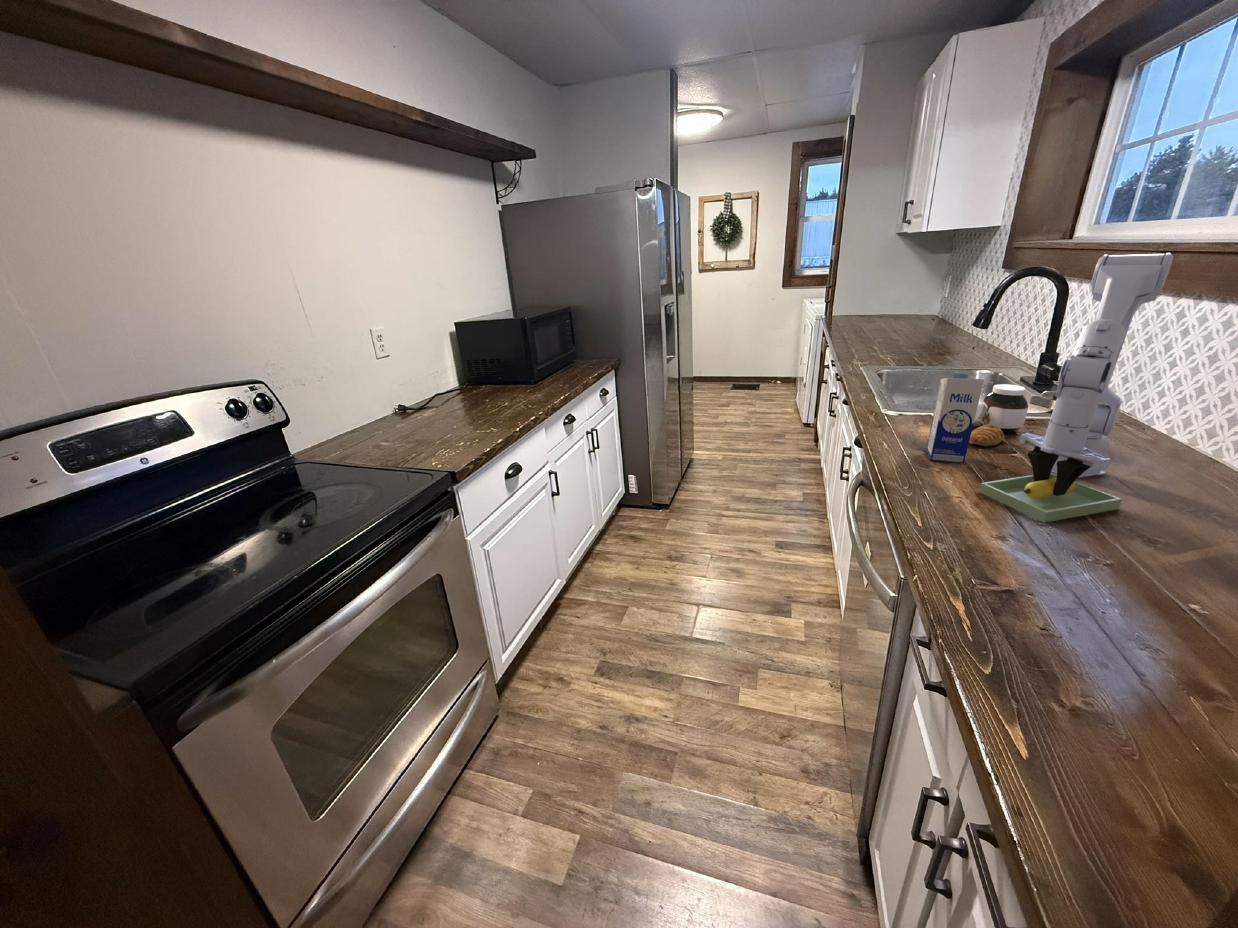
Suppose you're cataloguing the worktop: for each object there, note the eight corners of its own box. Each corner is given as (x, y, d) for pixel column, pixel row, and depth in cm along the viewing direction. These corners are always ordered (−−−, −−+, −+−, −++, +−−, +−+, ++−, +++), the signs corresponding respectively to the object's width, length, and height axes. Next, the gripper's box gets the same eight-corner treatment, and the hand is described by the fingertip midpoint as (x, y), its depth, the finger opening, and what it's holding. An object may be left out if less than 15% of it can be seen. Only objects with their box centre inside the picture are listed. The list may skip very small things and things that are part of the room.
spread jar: (1026, 434, 130) (1039, 391, 126) (982, 436, 131) (993, 393, 126) (995, 420, 141) (1005, 380, 137) (954, 422, 142) (963, 382, 137)
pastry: (991, 450, 122) (995, 435, 120) (960, 444, 127) (963, 429, 125) (1004, 441, 127) (1008, 426, 125) (974, 435, 132) (977, 421, 130)
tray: (1046, 483, 104) (1050, 471, 103) (1117, 511, 92) (1122, 499, 91) (978, 494, 101) (981, 482, 100) (1042, 525, 89) (1046, 512, 88)
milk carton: (929, 460, 118) (947, 377, 110) (925, 450, 123) (941, 370, 116) (964, 463, 115) (985, 378, 107) (958, 453, 121) (977, 372, 113)
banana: (1059, 488, 98) (1064, 473, 97) (1076, 495, 95) (1082, 479, 94) (1014, 495, 96) (1019, 480, 95) (1030, 503, 93) (1035, 487, 92)
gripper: (1014, 414, 96) (997, 478, 101) (1096, 438, 83) (1071, 510, 88) (1044, 410, 97) (1025, 473, 103) (1129, 433, 84) (1102, 504, 89)
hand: (1048, 490), depth 95 cm, fingers closed on banana, 3 cm apart
